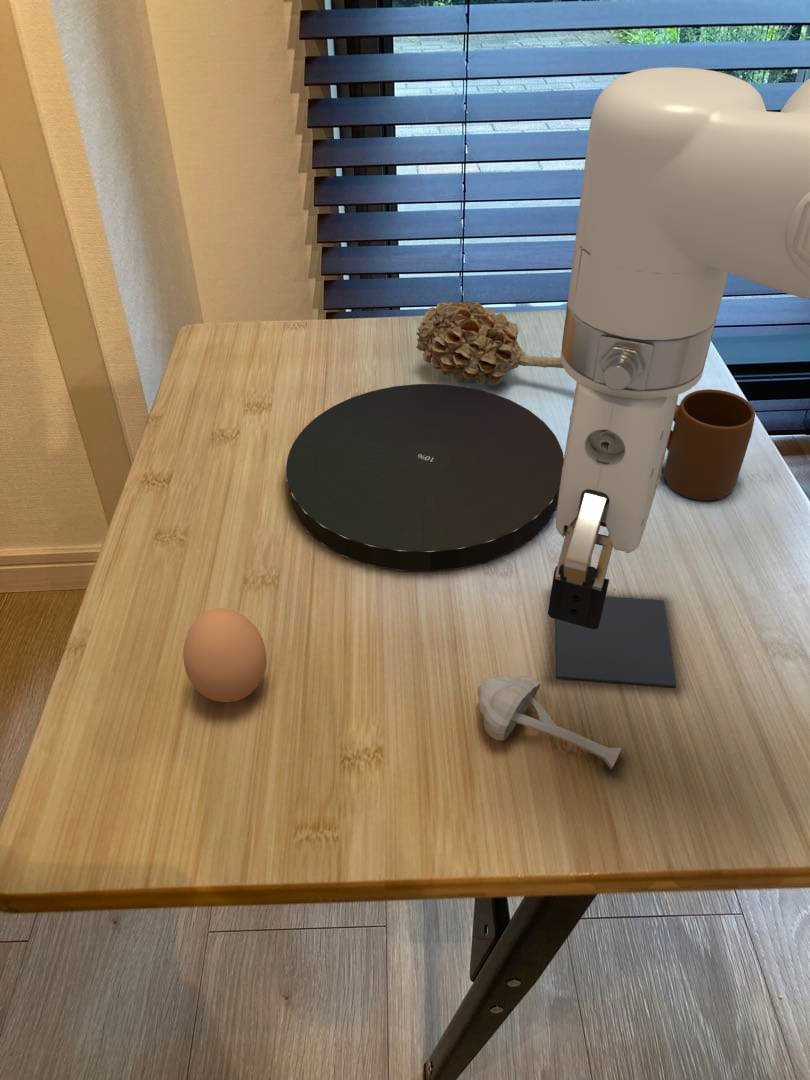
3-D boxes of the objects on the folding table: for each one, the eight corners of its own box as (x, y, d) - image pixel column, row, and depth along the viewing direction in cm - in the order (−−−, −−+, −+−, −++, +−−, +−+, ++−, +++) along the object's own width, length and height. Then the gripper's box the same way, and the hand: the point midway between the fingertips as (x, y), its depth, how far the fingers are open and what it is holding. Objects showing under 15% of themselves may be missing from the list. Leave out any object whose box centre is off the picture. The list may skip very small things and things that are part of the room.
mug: (614, 480, 92) (627, 407, 86) (634, 443, 97) (647, 372, 91) (726, 511, 88) (749, 436, 82) (741, 471, 93) (763, 398, 87)
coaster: (663, 602, 79) (663, 600, 78) (675, 687, 71) (676, 685, 71) (554, 595, 80) (555, 592, 79) (556, 678, 72) (556, 676, 72)
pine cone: (407, 390, 107) (405, 318, 100) (426, 353, 114) (426, 283, 107) (582, 414, 102) (592, 340, 95) (591, 374, 109) (602, 302, 102)
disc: (243, 541, 86) (238, 519, 84) (344, 389, 107) (342, 368, 105) (533, 599, 79) (535, 576, 77) (580, 424, 100) (583, 402, 98)
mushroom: (615, 765, 61) (469, 688, 65) (594, 806, 64) (454, 730, 67) (638, 711, 67) (502, 643, 70) (617, 751, 69) (487, 683, 73)
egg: (288, 689, 72) (274, 616, 66) (224, 735, 69) (203, 663, 63) (242, 647, 76) (225, 574, 70) (179, 689, 72) (155, 617, 66)
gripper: (682, 443, 38) (621, 683, 49) (727, 280, 49) (669, 505, 61) (520, 409, 40) (497, 646, 51) (600, 261, 51) (567, 481, 63)
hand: (591, 569), depth 56 cm, fingers open, 9 cm apart
